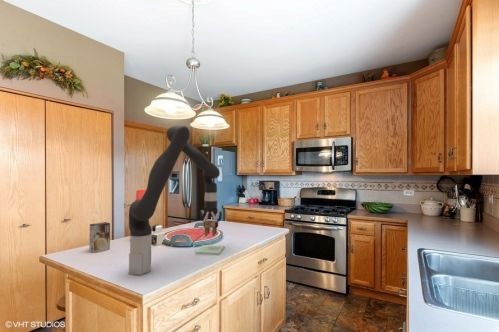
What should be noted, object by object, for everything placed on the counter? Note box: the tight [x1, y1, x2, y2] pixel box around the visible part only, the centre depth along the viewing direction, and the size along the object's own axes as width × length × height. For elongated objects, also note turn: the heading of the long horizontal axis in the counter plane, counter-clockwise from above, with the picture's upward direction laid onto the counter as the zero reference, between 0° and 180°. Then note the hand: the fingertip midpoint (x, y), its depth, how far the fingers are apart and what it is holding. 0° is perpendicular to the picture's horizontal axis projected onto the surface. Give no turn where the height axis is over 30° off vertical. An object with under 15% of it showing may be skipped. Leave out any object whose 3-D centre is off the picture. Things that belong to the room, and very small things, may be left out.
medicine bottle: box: [151, 224, 166, 247], centre depth 164 cm, size 7×7×12 cm
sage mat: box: [194, 244, 226, 256], centre depth 149 cm, size 14×14×1 cm
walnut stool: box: [204, 219, 218, 237], centre depth 150 cm, size 6×6×8 cm
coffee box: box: [88, 221, 111, 254], centre depth 150 cm, size 9×6×16 cm
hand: (210, 228), depth 150 cm, fingers closed on walnut stool, 6 cm apart
